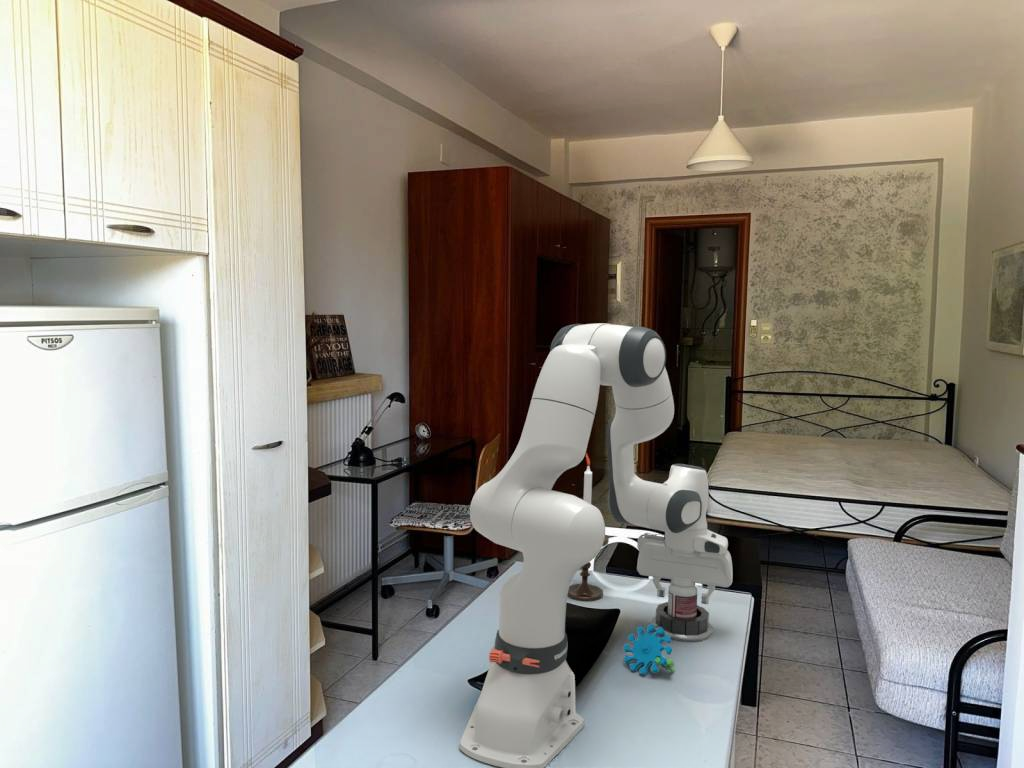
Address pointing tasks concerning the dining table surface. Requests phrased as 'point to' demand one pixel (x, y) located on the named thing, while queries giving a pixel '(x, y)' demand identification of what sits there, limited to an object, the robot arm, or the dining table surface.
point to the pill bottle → (682, 598)
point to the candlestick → (584, 589)
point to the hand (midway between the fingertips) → (682, 599)
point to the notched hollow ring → (683, 625)
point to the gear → (649, 650)
